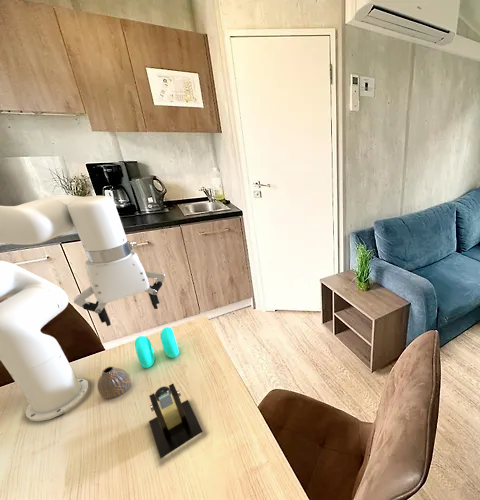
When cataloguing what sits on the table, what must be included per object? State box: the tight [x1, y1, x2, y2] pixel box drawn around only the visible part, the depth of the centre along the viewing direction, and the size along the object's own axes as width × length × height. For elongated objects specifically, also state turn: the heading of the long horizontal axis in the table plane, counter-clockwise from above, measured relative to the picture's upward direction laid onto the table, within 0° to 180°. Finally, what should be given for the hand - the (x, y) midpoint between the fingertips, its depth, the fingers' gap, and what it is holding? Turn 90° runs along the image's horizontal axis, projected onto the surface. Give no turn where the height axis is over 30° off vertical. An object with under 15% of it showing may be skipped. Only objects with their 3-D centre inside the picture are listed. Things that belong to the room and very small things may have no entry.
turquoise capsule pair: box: [134, 326, 180, 369], centre depth 90 cm, size 10×10×10 cm
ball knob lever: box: [154, 386, 174, 409], centre depth 70 cm, size 13×4×4 cm
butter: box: [160, 401, 182, 430], centre depth 71 cm, size 5×4×3 cm
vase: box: [96, 366, 131, 400], centre depth 78 cm, size 7×7×9 cm
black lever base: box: [148, 383, 203, 460], centre depth 68 cm, size 12×9×12 cm
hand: (132, 314), depth 70 cm, fingers open, 9 cm apart
